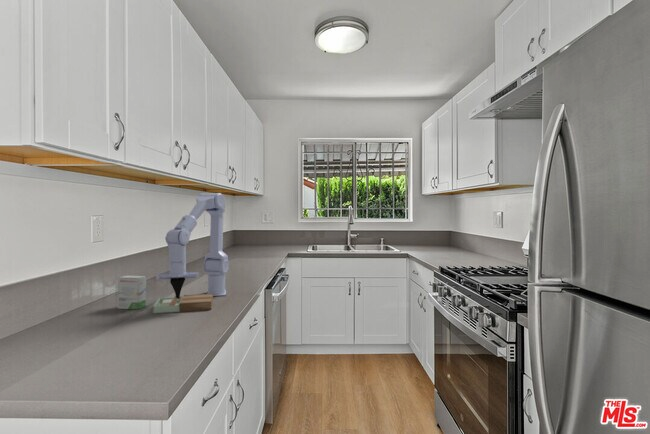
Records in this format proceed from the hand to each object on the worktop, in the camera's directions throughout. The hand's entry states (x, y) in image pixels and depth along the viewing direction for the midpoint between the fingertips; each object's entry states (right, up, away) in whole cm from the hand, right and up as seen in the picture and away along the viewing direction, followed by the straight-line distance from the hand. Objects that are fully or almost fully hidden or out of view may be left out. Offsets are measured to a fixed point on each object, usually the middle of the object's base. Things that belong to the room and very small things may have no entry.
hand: (177, 298), depth 136 cm
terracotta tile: (-1, -2, 0) cm, 2 cm away
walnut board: (+5, -4, +5) cm, 8 cm away
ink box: (-18, -4, +3) cm, 19 cm away
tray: (-4, -4, +2) cm, 6 cm away
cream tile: (-5, -2, +5) cm, 7 cm away
